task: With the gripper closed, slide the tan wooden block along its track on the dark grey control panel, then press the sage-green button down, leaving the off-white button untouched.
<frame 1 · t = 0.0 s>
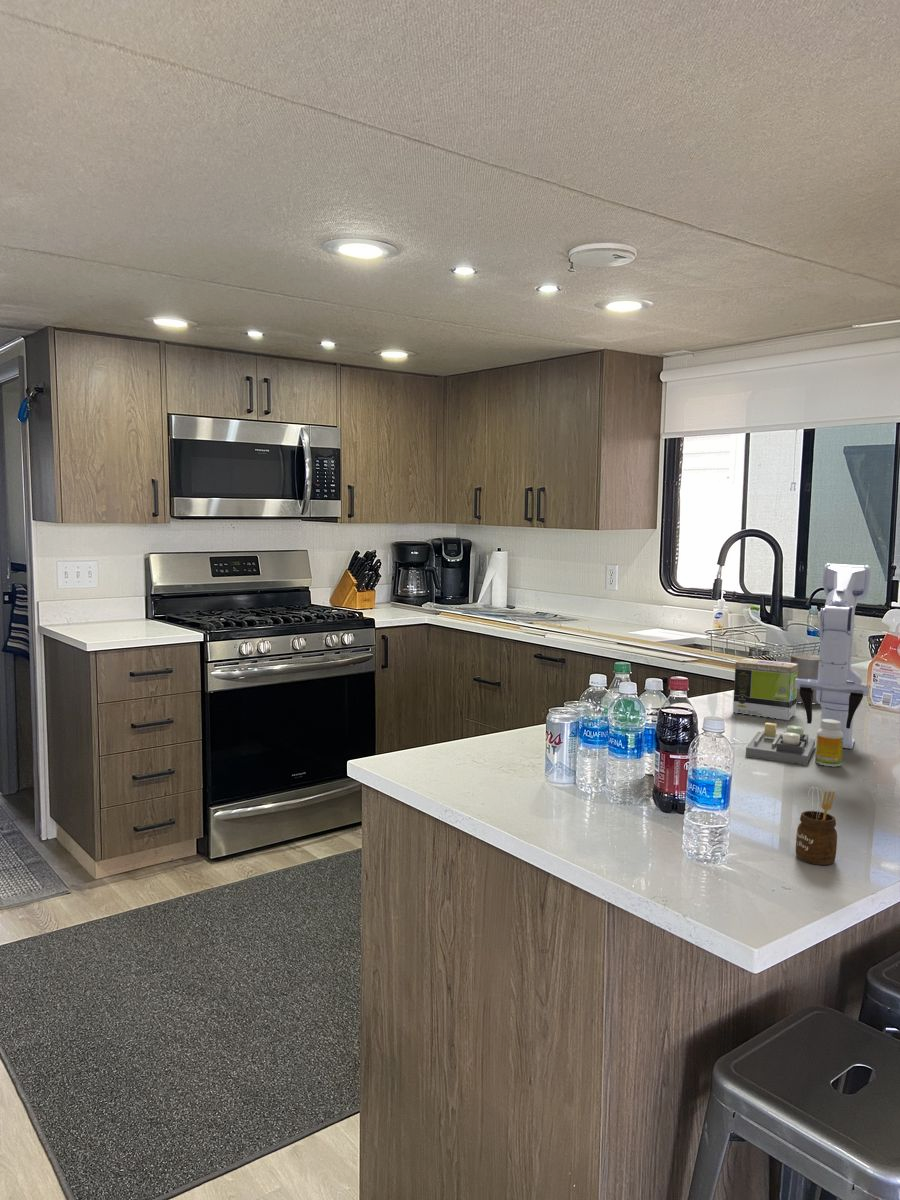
hand: (828, 725, 191), 10 cm above the table, tool pointing down, fingers open, 7 cm apart
utensil holder: (815, 860, 141), on the table
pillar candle: (804, 702, 269), on the table
tea box: (763, 715, 248), on the table
tan wooden block: (770, 730, 211), point 4 cm above the table, slide at 0.0 cm
sage button: (795, 732, 209), point 4 cm above the table, slide at 0.0 cm
panel: (780, 751, 208), on the table
supplement bottle: (827, 764, 198), on the table
white button: (791, 739, 202), point 4 cm above the table, slide at 0.0 cm
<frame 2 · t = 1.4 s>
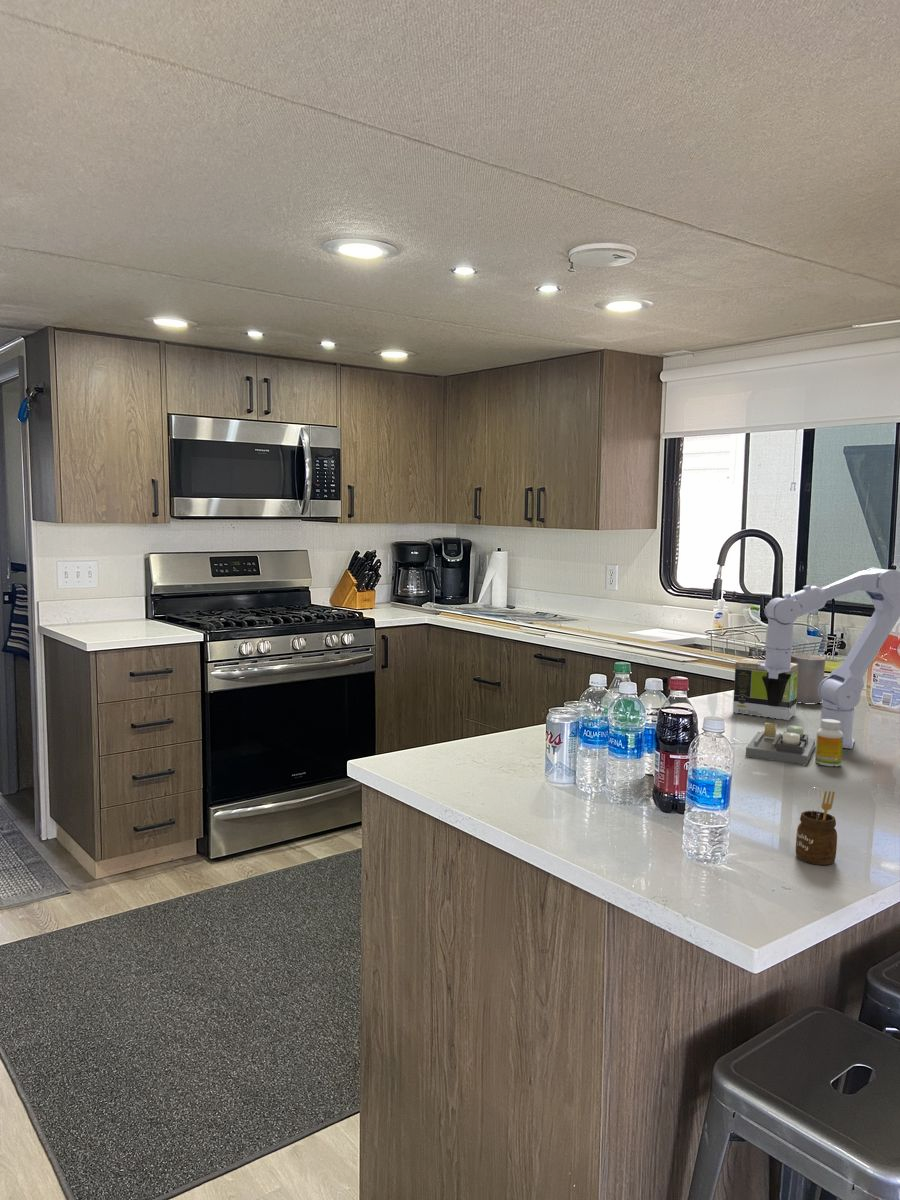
hand: (775, 704, 216), 9 cm above the table, tool pointing down, fingers open, 5 cm apart
nothing on the table moved.
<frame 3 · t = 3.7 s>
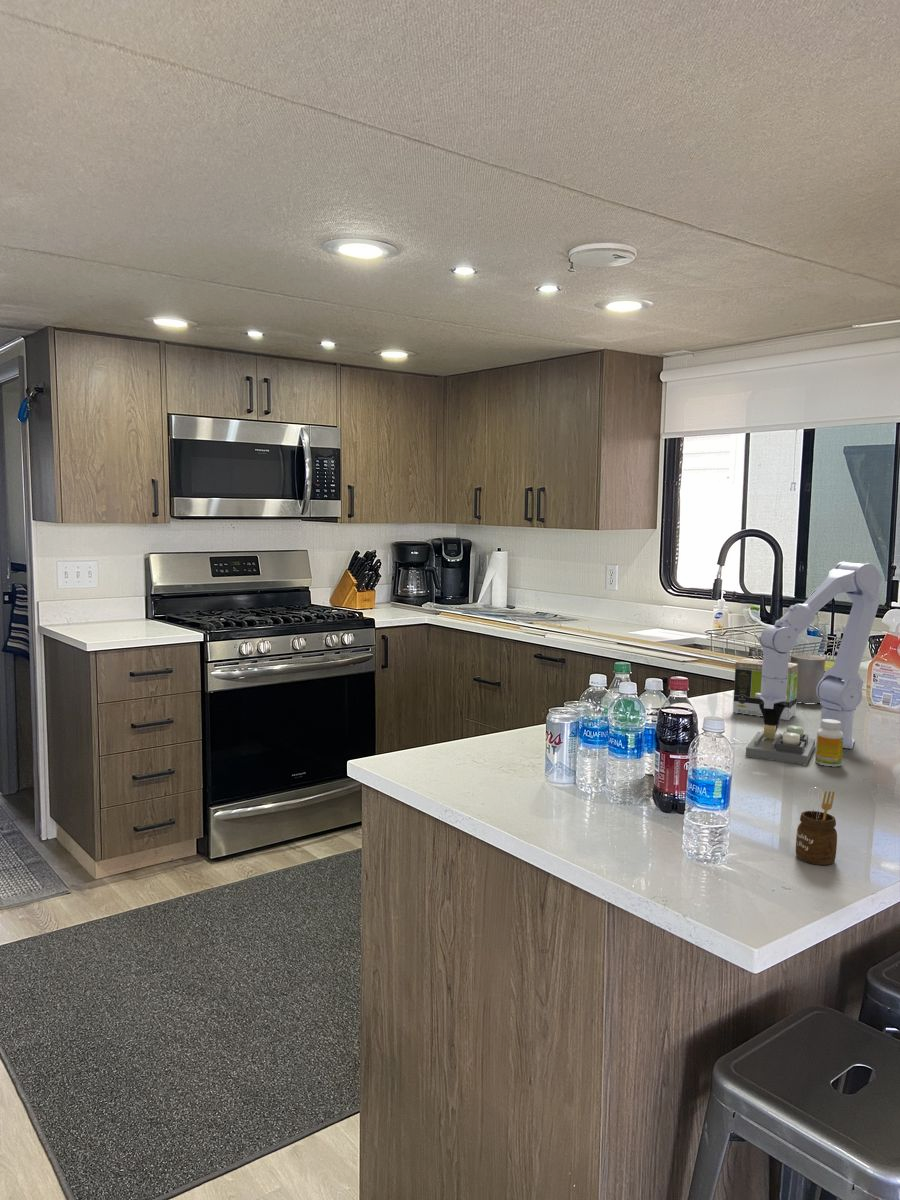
hand: (770, 733, 212), 3 cm above the table, tool pointing down, fingers closed
tan wooden block: (769, 730, 210), point 4 cm above the table, slide at 1.0 cm, touching gripper
everything else where it was.
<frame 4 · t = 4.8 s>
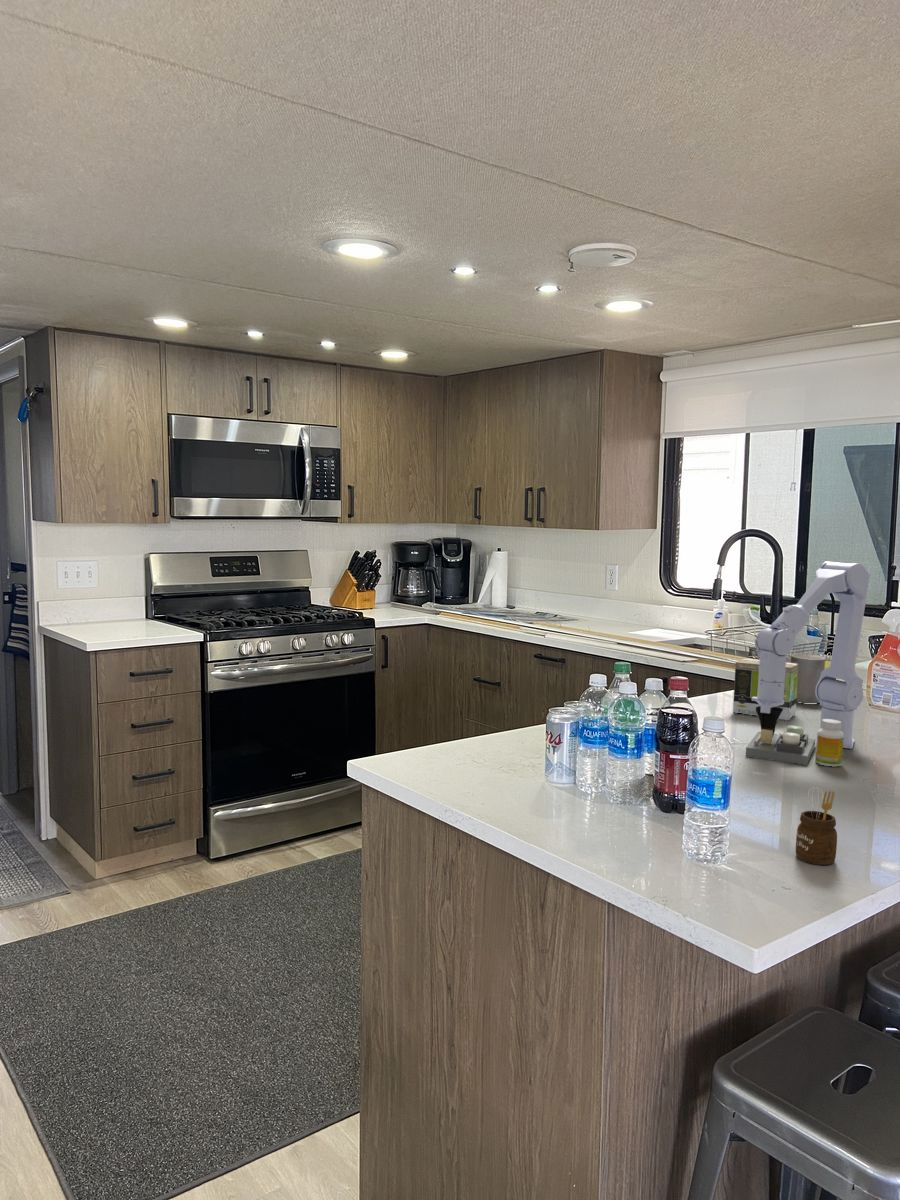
hand: (767, 738, 208), 3 cm above the table, tool pointing down, fingers closed
tan wooden block: (766, 735, 206), point 4 cm above the table, slide at 6.2 cm, touching gripper
everything else where it was.
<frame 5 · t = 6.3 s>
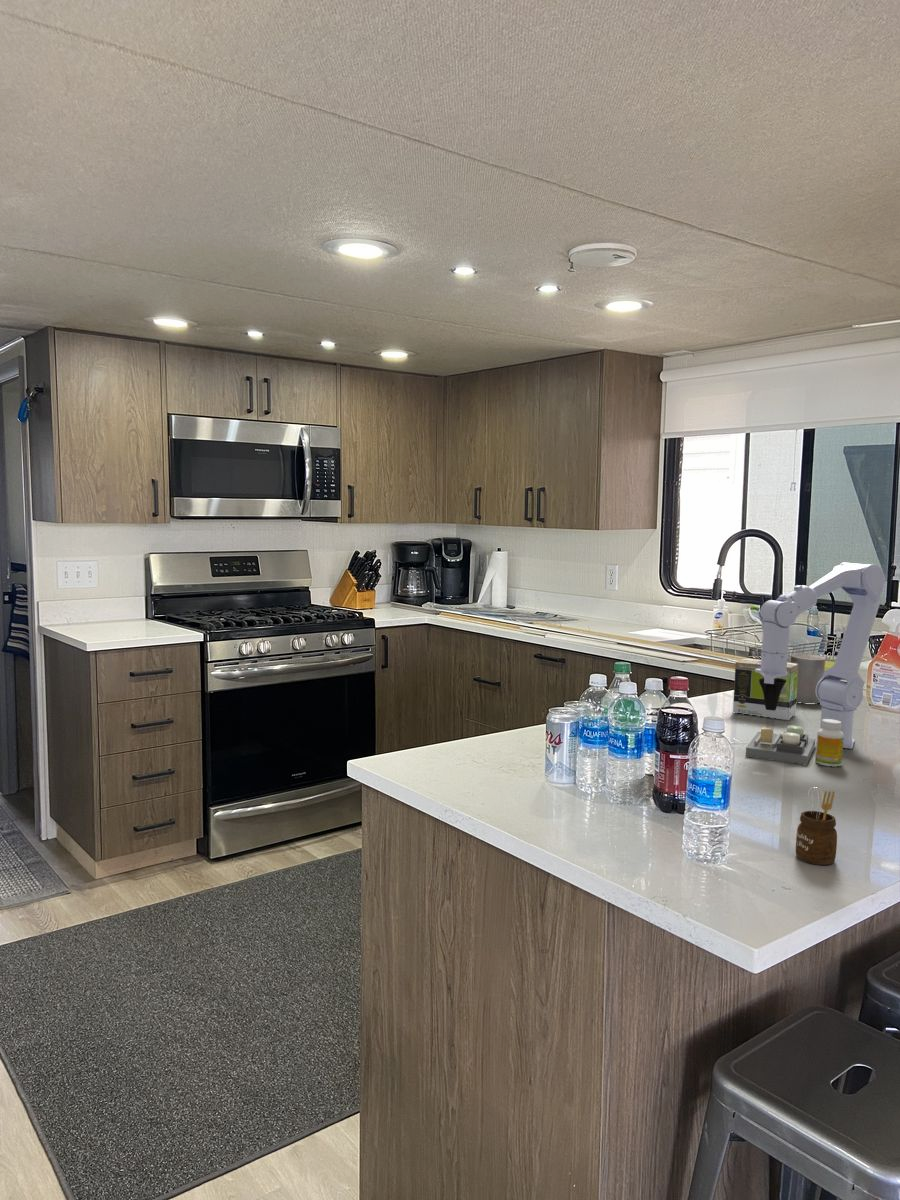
hand: (770, 709, 209), 9 cm above the table, tool pointing down, fingers closed
tan wooden block: (766, 735, 206), point 4 cm above the table, slide at 6.1 cm
everything else where it was.
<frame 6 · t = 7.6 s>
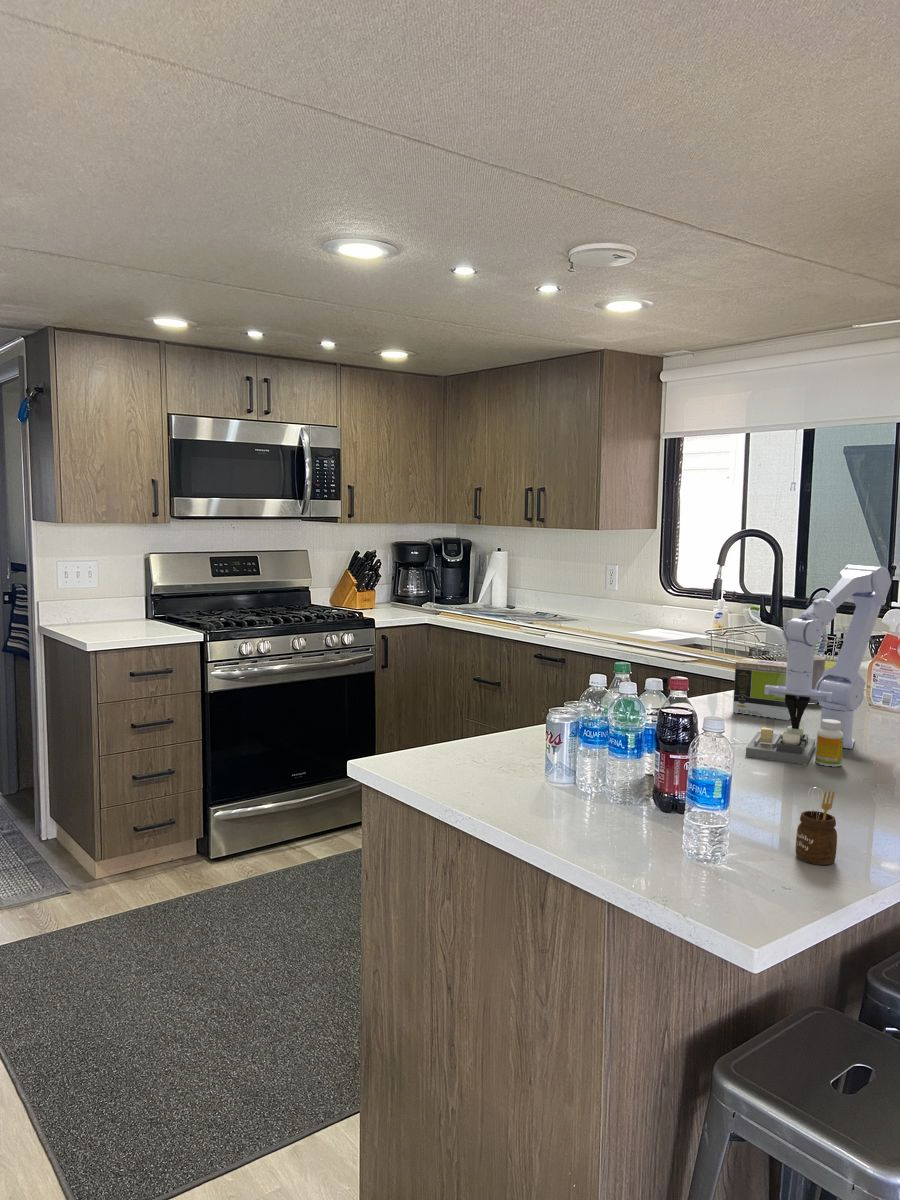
hand: (795, 728, 209), 5 cm above the table, tool pointing down, fingers closed, pressing on sage button
sage button: (795, 732, 209), point 4 cm above the table, slide at 0.1 cm, touching gripper
everything else where it was.
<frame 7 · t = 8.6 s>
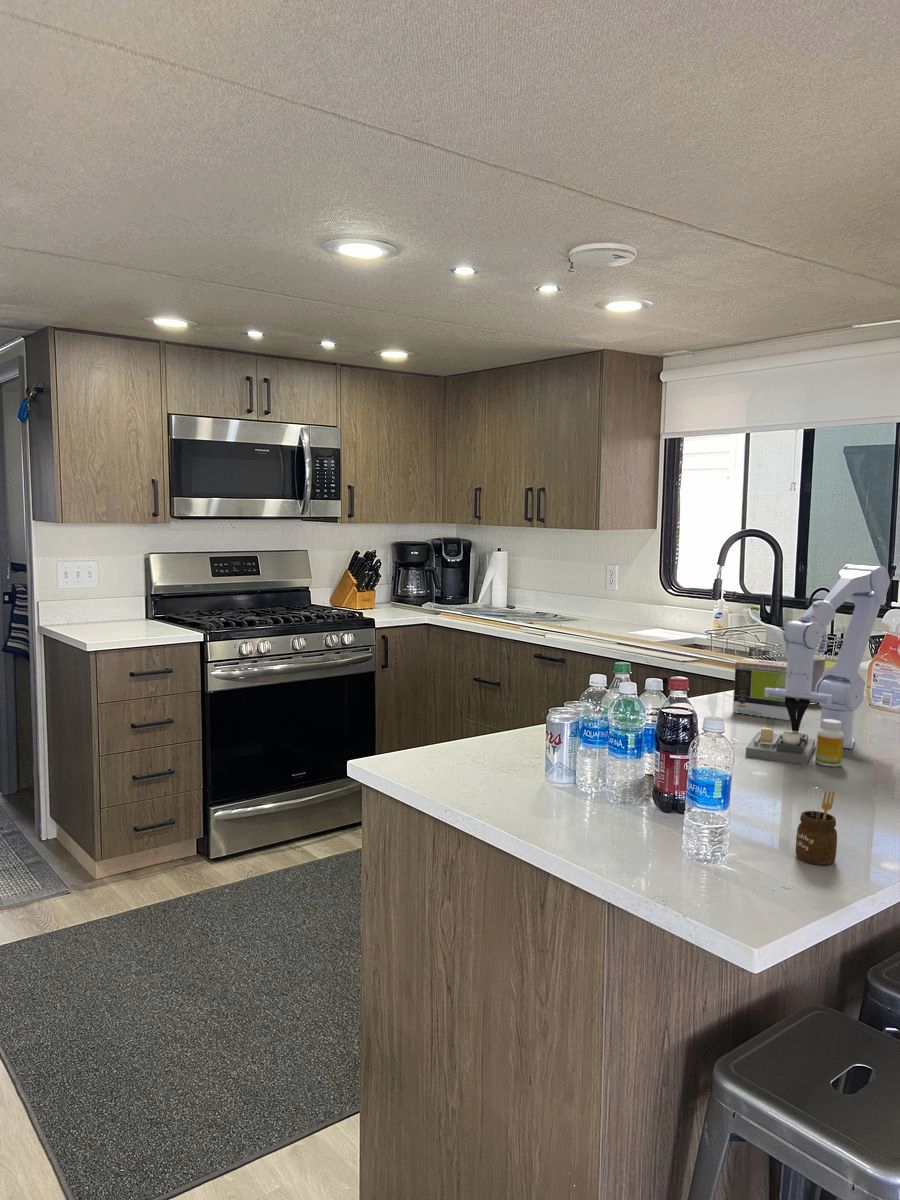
hand: (795, 730, 209), 5 cm above the table, tool pointing down, fingers closed
sage button: (794, 736, 209), point 3 cm above the table, slide at 1.1 cm
everything else where it was.
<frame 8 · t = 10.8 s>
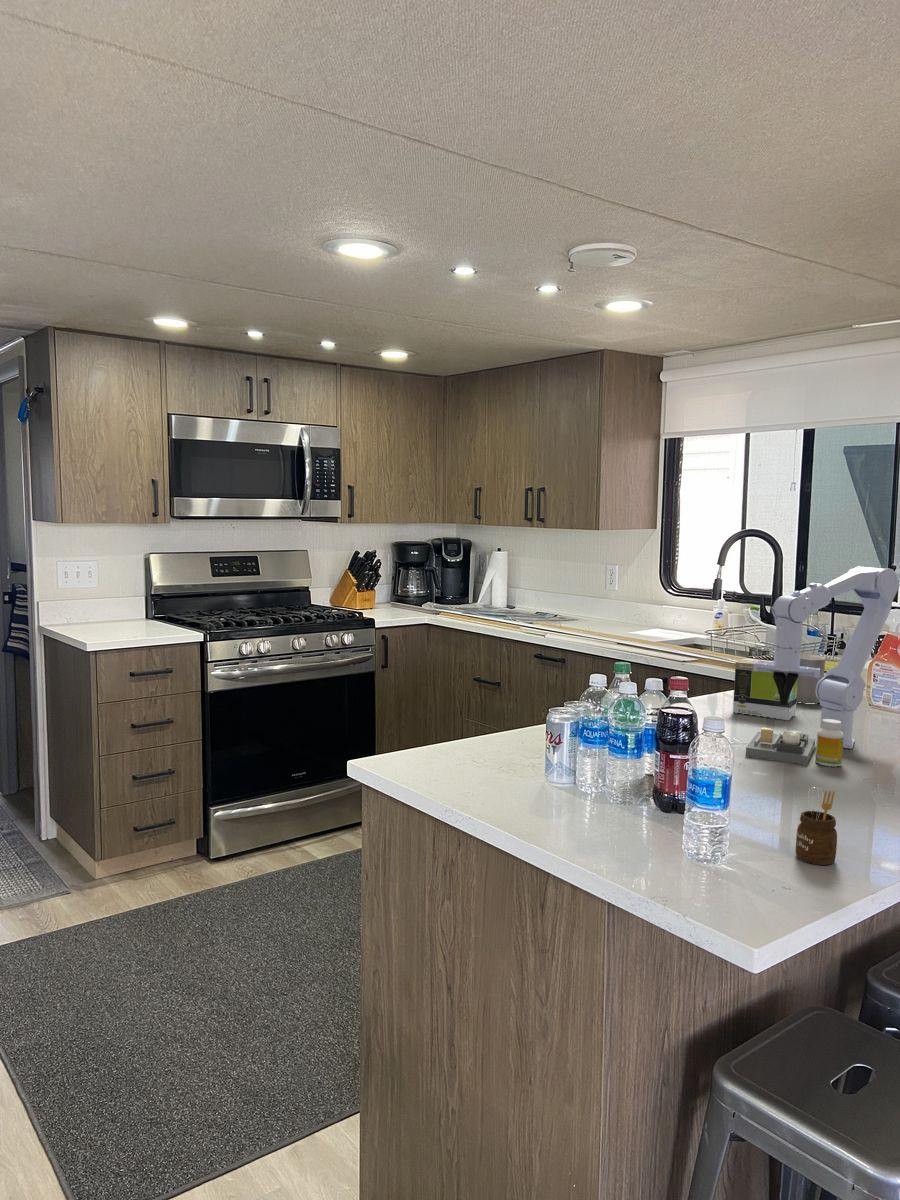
hand: (783, 704, 210), 10 cm above the table, tool pointing down, fingers closed
nothing on the table moved.
at the end: tan wooden block slide at 6.1 cm; sage button slide at 1.1 cm; white button slide at 0.0 cm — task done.
